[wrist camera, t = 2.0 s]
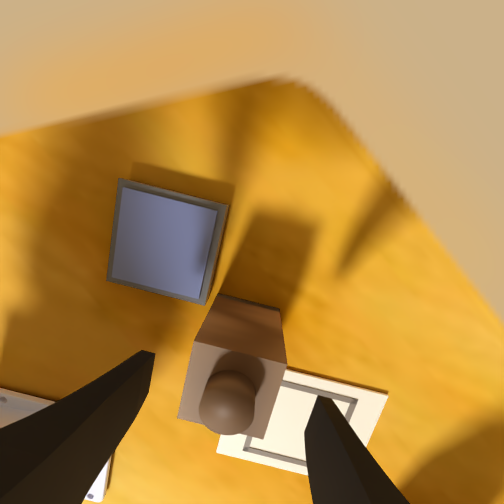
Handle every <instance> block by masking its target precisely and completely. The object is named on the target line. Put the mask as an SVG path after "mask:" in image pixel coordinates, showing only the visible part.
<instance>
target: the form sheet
mask: <svg viewBox="0 0 504 504" xmlns="http://www.w3.org/2000/svg"><path fill="white" fill-rule="evenodd" d="M318 395H320V396H324V397H328V398H332V400H333V401H334V403H335V404H336V405H337V407H338V408H339V410H340V411H341V413H342V414H343V415H344V417H345V418H346V420H347V421H348V423H349V424H350V426H351V427H352V429H353V430H354V431H355V433H356V434H357V436H358V437H359V439H360V440H361V441H362V443H363V444H364V446H365V447H366V446H367V443H368V441H369V439H370V437H371V434H372V432H373V430H374V428H375V425H376V423H377V421H378V419H379V416H380V414H381V412H382V410H383V407H384V405H385V403H386V401H387V398H388V395H387V394H384V393H380V392H376V391H373V390H369V389H365V388H361V387H357V386H353V385H349V384H345V383H341V382H337V381H333V380H329V379H325V378H321V377H317V376H313V375H309V374H305V373H301V372H297V371H293V370H289V369H286V370H285V373H284V377H283V380H282V383H281V386H280V389H279V392H278V395H277V398H276V402H275V405H274V408H273V411H272V414H271V417H270V420H269V423H268V427H267V430H266V433H265V436H264V439H259V438H255V437H251V436H247V435H243V434H236V435H221V436H220V439H219V443H218V447H217V451H216V452H217V453H221V454H225V455H229V456H233V457H237V458H241V459H245V460H249V461H252V462H256V463H260V464H264V465H268V466H272V467H276V468H280V469H284V470H288V471H292V472H296V473H300V474H304V475H308V471H307V465H306V455H305V441H304V431H305V428H306V426H307V423H308V420H309V417H310V415H311V412H312V409H313V407H314V404H315V401H316V398H317V396H318Z"/></svg>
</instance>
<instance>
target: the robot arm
mask: <svg viewBox="0 0 504 504" xmlns="http://www.w3.org/2000/svg"><path fill="white" fill-rule="evenodd" d="M154 359H155V353H151V352H147V351H143V350H141V351H139V352H138V353H136V354H135V355H133V356H132V357H130V358H129V359H127V360H126V361H124V362H123V363H121V364H120V365H118V366H116V367H115V368H113V369H112V370H110V371H109V372H107V373H105V374H104V375H102V376H101V377H99V378H97V379H96V380H94V381H93V382H91V383H89V384H87V385H86V386H84V387H82V388H80V389H79V390H77V391H75V392H73V393H72V394H70V395H68V396H66V397H65V398H63V399H61V400H59V401H57V402H54V401H50V400H46V399H42V398H38V397H34V396H30V395H26V394H22V393H18V392H14V391H10V390H7V389H3V388H0V504H81V503H82V502H83V500H84V499H86V500H90V501H94V502H101V501H102V500H103V499H104V497H105V495H106V490H107V483H108V476H109V470H110V463H111V456H112V454H113V452H114V451H115V449H116V448H117V446H118V445H119V443H120V441H121V440H122V438H123V437H124V435H125V434H126V432H127V431H128V429H129V427H130V426H131V424H132V423H133V421H134V420H135V418H136V416H137V414H138V412H139V410H140V408H141V407H142V405H143V403H144V401H145V399H146V397H147V395H148V393H149V387H150V381H151V376H152V370H153V365H154ZM304 441H305V455H306V465H307V471H308V477H309V483H310V488H311V494H312V500H313V504H410V503H409V502H408V501H407V500H406V498H405V497H404V496H403V495H402V494H401V492H400V491H399V490H398V489H397V488H396V486H395V485H394V484H393V483H392V481H391V480H390V479H389V477H388V476H387V475H386V474H385V472H384V471H383V470H382V468H381V467H380V466H379V465H378V463H377V462H376V461H375V459H374V458H373V457H372V455H371V454H370V452H369V451H368V450H367V448H366V447H365V446H364V444H363V443H362V441H361V440H360V439H359V437H358V436H357V434H356V433H355V431H354V430H353V429H352V427H351V426H350V424H349V423H348V421H347V420H346V418H345V417H344V415H343V414H342V413H341V411H340V410H339V408H338V407H337V405H336V404H335V403H334V401H333V400H332V398H328V397H324V396H320V395H318V396H317V398H316V401H315V404H314V407H313V409H312V412H311V415H310V417H309V420H308V423H307V426H306V428H305V431H304Z"/></svg>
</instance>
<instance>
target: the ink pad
mask: <svg viewBox="0 0 504 504" xmlns="http://www.w3.org/2000/svg"><path fill="white" fill-rule="evenodd" d="M228 209H229V205H227V204H223V203H219V202H215V201H211V200H207V199H203V198H199V197H195V196H191V195H187V194H183V193H179V192H176V191H172V190H168V189H164V188H160V187H156V186H152V185H148V184H144V183H140V182H136V181H132V180H128V179H122V178H119V179H118V188H117V196H116V204H115V213H114V221H113V229H112V238H111V246H110V255H109V263H108V271H107V280H106V281H109V282H113V283H117V284H121V285H125V286H129V287H133V288H137V289H141V290H145V291H149V292H153V293H157V294H161V295H165V296H169V297H173V298H177V299H181V300H185V301H189V302H193V303H197V304H200V305H204V306H205V304H206V302H207V301H208V299H209V295H210V290H211V286H212V281H213V277H214V272H215V268H216V263H217V259H218V254H219V250H220V245H221V241H222V236H223V232H224V227H225V223H226V218H227V214H228Z"/></svg>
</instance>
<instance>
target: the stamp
mask: <svg viewBox="0 0 504 504" xmlns="http://www.w3.org/2000/svg"><path fill="white" fill-rule="evenodd" d="M286 367H287V358H286V351H285V344H284V337H283V330H282V323H281V316H280V309H279V308H275V307H271V306H267V305H263V304H259V303H255V302H251V301H247V300H243V299H239V298H235V297H231V296H227V295H223V294H219V293H218V294H217V296H216V298H215V300H214V302H213V304H212V306H211V308H210V310H209V312H208V314H207V316H206V318H205V320H204V322H203V324H202V326H201V328H200V330H199V332H198V334H197V336H196V338H195V340H194V343H193V347H192V352H191V356H190V361H189V366H188V370H187V375H186V380H185V384H184V389H183V393H182V398H181V403H180V407H179V412H178V416H177V418H179V419H183V420H187V421H191V422H195V423H199V424H203V425H205V426H206V427H207V428H208V429H210V430H211V431H213V432H215V433H218V434H221V435H236V434H243V435H247V436H251V437H255V438H259V439H264V436H265V433H266V430H267V427H268V423H269V420H270V417H271V414H272V411H273V408H274V405H275V402H276V398H277V395H278V392H279V389H280V386H281V383H282V380H283V377H284V373H285V370H286Z"/></svg>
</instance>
